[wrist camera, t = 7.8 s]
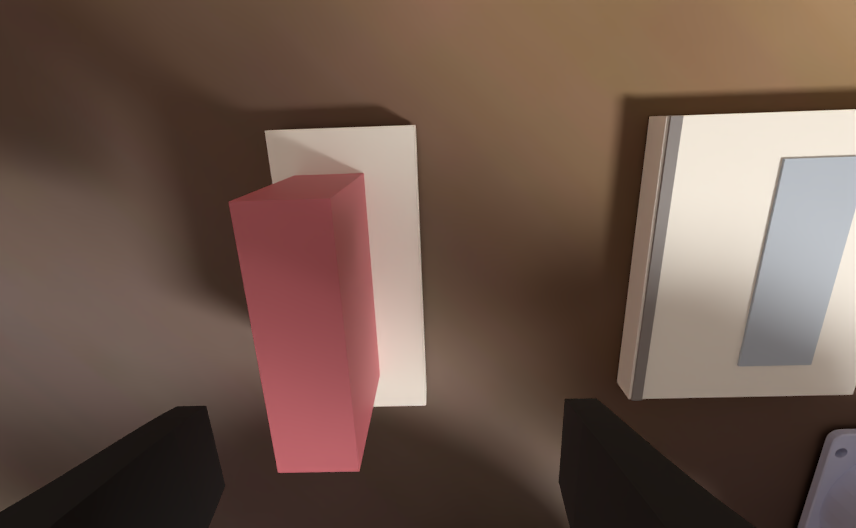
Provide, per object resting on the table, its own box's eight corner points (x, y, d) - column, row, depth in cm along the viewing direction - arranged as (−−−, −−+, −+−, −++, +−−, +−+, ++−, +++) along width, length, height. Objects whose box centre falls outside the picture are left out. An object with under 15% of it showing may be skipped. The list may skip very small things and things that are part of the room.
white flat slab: (827, 377, 19) (855, 396, 17) (616, 382, 19) (629, 400, 18) (908, 107, 15) (951, 105, 14) (649, 116, 15) (668, 116, 14)
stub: (426, 388, 19) (423, 510, 13) (313, 390, 19) (258, 512, 13) (415, 124, 15) (404, 128, 9) (276, 129, 15) (180, 136, 10)
